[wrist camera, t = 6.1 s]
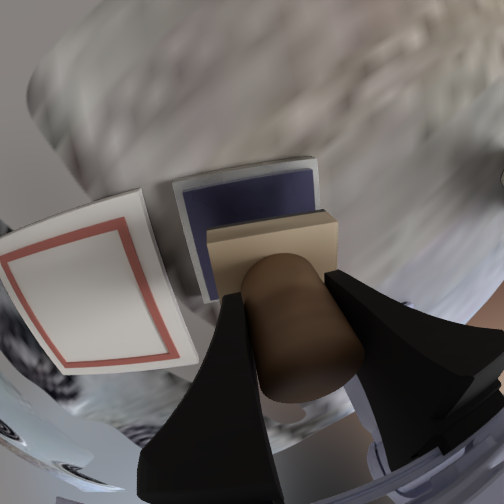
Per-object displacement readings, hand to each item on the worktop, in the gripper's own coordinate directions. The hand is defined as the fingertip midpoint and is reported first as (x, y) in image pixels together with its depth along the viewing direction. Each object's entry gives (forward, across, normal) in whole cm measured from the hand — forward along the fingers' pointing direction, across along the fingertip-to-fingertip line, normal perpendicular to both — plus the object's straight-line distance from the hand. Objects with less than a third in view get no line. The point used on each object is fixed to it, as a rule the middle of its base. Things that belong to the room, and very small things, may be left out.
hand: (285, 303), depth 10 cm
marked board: (+7, +13, +3) cm, 15 cm away
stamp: (+2, 0, 0) cm, 2 cm away
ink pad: (+7, 0, 0) cm, 7 cm away
